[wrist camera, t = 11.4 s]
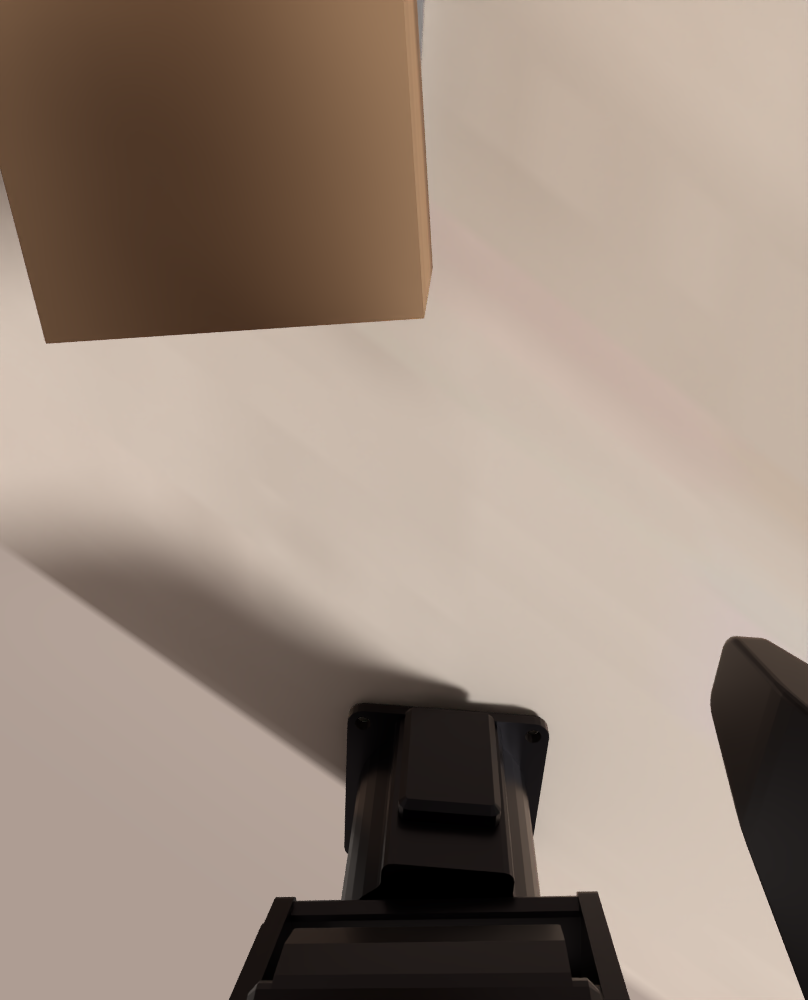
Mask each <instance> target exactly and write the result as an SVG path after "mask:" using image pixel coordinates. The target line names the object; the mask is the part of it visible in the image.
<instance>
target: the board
mask: <svg viewBox="0 0 808 1000" xmlns="http://www.w3.org/2000/svg"><path fill="white" fill-rule="evenodd" d="M0 169H1V173H2V177H3V181H4V185H5V188H6V192H7V196H8V200H9V204H10V208H11V211H12V215H13V219H14V223H15V227H16V231H17V234H18V238H19V242H20V246H21V250H22V254H23V257H24V261H25V265H26V269H27V273H28V277H29V280H30V284H31V288H32V292H33V296H34V300H35V303H36V307H37V311H38V315H39V319H40V323H41V326H42V330H43V334H44V338H45V342H46V344H47V343H62V342H77V341H92V340H107V339H122V338H137V337H152V336H167V335H182V334H197V333H211V332H226V331H241V330H256V329H271V328H286V327H301V326H316V325H331V324H346V323H361V322H376V321H391V320H406V319H421V318H424V315H425V309H426V304H427V298H428V292H429V286H430V280H431V274H432V268H433V265H432V248H431V231H430V214H429V197H428V180H427V163H426V146H425V129H424V112H423V95H422V78H421V61H420V44H419V27H418V10H417V0H0Z"/></svg>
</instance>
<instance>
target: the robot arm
mask: <svg viewBox="0 0 808 1000" xmlns="http://www.w3.org/2000/svg"><path fill="white" fill-rule="evenodd" d="M710 706H711V713H712V718H713V721H714V725H715V729H716V733H717V737H718V741H719V745H720V749H721V753H722V757H723V761H724V765H725V769H726V773H727V777H728V781H729V785H730V789H731V793H732V797H733V801H734V805H735V809H736V813H737V816H738V820H739V823H740V827H741V830H742V833H743V836H744V838H745V841H746V844H747V847H748V850H749V852H750V855H751V858H752V860H753V863H754V866H755V868H756V871H757V874H758V876H759V879H760V882H761V884H762V887H763V890H764V892H765V895H766V897H767V900H768V903H769V905H770V908H771V911H772V913H773V916H774V919H775V921H776V924H777V927H778V929H779V932H780V935H781V937H782V940H783V943H784V945H785V948H786V950H787V953H788V956H789V958H790V961H791V964H792V966H793V969H794V972H795V974H796V977H797V980H798V982H799V985H800V988H801V990H802V993H803V996H804V998H805V1000H808V664H807V663H805V662H804V661H802V660H800V659H799V658H797V657H795V656H794V655H792V654H790V653H789V652H787V651H785V650H784V649H782V648H780V647H778V646H777V645H775V644H773V643H772V642H770V641H768V640H766V639H763V638H754V637H740V636H733V637H731V638H729V639H728V640H727V641H726V643H725V644H724V646H723V649H722V653H721V657H720V661H719V665H718V668H717V672H716V676H715V680H714V684H713V688H712V692H711V699H710ZM360 717H365V718H367V719H369V721H366V722H363V721H360V720H359V719H358V718H360ZM532 730H535V731H538V733H536V734H532V735H531V734H528V733H527V732H529V731H532ZM548 741H549V733H548V727H547V724H546V722H545V721H544V720H543V719H541V718H540V717H536V716H528V715H514V714H501V713H488V712H475V711H462V710H449V709H436V708H422V707H409V706H396V705H383V704H370V703H360V704H357V705H355V706H353V707H352V708H351V710H350V713H349V717H348V726H347V765H346V803H345V804H346V805H345V842H344V847H345V851H346V852H347V853H348V858H347V864H346V871H345V878H344V885H343V891H342V898H341V900H318V901H317V900H315V901H296V898H295V897H276V898H275V899H274V902H273V904H272V906H271V909H270V911H269V913H268V915H267V918H266V920H265V922H264V923H263V924H262V925H261V928H260V929H259V932H258V934H257V936H256V939H255V941H254V943H253V946H252V948H251V950H250V952H249V955H248V957H247V959H246V962H245V964H244V966H243V969H242V971H241V973H240V976H239V978H238V980H237V982H236V985H235V987H234V989H233V992H232V994H231V996H230V998H229V1000H630V999H629V995H628V992H627V989H626V985H625V982H624V979H623V975H622V972H621V969H620V965H619V962H618V959H617V955H616V952H615V948H614V945H613V942H612V938H611V935H610V932H609V928H608V925H607V922H606V918H605V915H604V912H603V908H602V905H601V902H600V898H599V895H598V892H597V891H596V892H577V896H540V889H539V881H538V873H537V865H536V857H535V849H534V841H533V835H534V829H535V822H536V816H537V810H538V804H539V797H540V791H541V785H542V779H543V772H544V766H545V760H546V754H547V747H548Z"/></svg>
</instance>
